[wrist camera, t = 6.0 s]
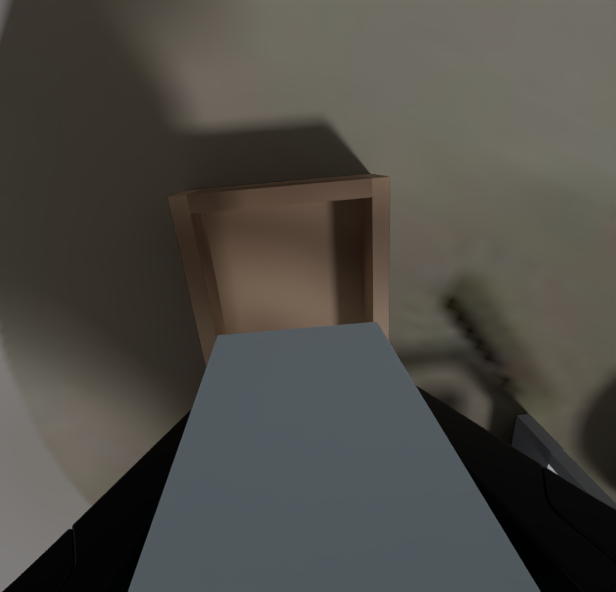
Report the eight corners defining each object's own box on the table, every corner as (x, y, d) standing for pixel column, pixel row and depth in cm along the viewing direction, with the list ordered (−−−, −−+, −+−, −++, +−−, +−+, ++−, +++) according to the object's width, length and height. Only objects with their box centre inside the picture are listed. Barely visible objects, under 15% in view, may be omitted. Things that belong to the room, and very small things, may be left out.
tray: (373, 484, 23) (386, 527, 21) (250, 500, 23) (246, 547, 20) (370, 173, 16) (390, 176, 13) (187, 190, 15) (167, 196, 13)
